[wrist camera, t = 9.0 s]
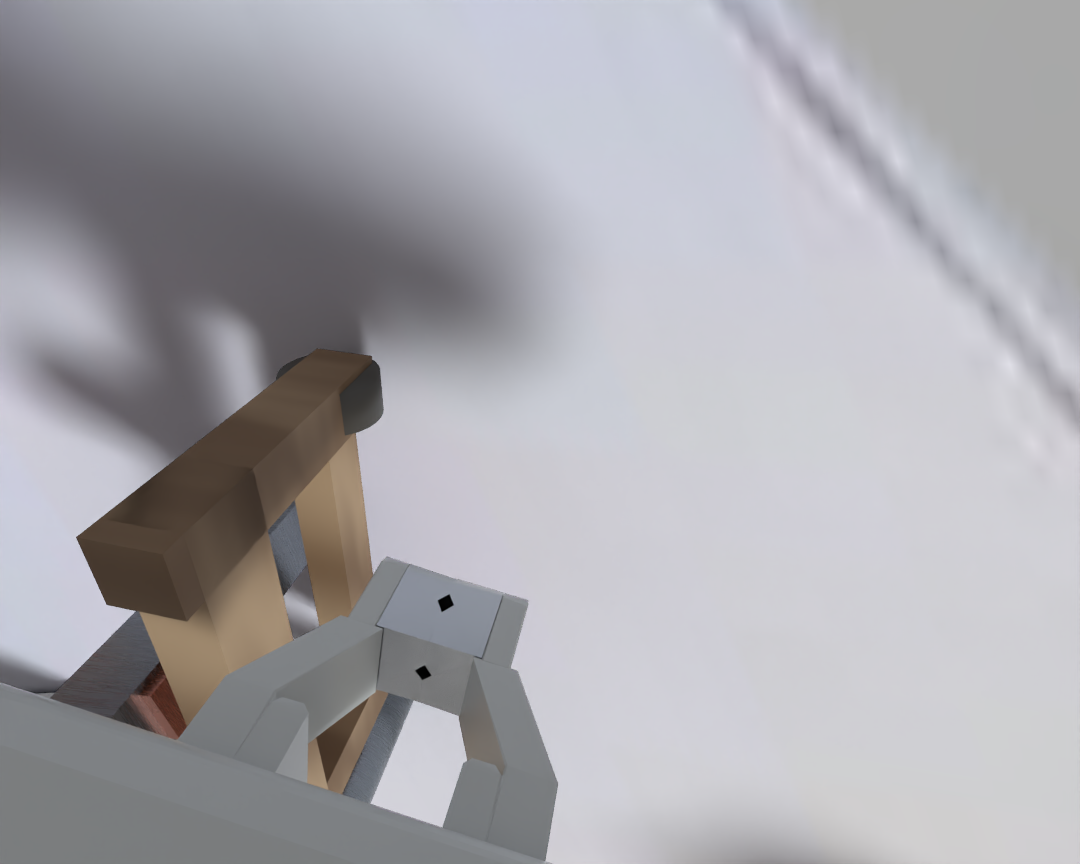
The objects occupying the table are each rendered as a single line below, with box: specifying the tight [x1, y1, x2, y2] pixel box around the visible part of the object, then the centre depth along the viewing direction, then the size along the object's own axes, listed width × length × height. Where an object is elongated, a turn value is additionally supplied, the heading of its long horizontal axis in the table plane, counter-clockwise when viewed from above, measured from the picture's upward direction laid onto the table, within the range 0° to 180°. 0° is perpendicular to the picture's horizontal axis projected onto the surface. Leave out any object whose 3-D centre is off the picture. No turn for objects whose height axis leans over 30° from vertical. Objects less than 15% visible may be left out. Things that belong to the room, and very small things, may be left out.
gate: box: [76, 349, 388, 794], centre depth 17 cm, size 13×3×8 cm, turn 177°
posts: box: [50, 500, 413, 804], centre depth 19 cm, size 3×11×10 cm, turn 8°
